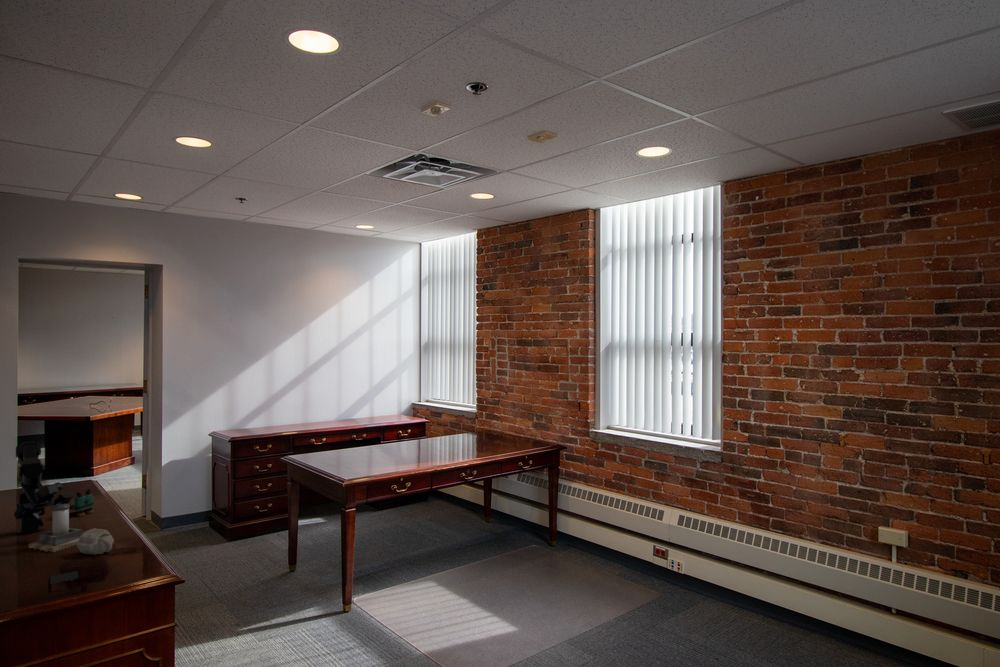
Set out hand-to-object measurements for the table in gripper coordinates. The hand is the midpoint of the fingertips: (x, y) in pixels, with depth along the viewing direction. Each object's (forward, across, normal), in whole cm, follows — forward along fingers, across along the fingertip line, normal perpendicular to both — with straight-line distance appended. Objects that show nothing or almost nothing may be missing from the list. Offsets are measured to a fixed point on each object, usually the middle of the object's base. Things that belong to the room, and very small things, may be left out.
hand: (55, 522), depth 227 cm
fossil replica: (+24, -3, -12) cm, 27 cm away
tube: (+7, 0, +2) cm, 7 cm away
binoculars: (-15, +31, +27) cm, 44 cm away
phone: (+35, -26, -23) cm, 49 cm away
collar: (+8, 0, +3) cm, 9 cm away
